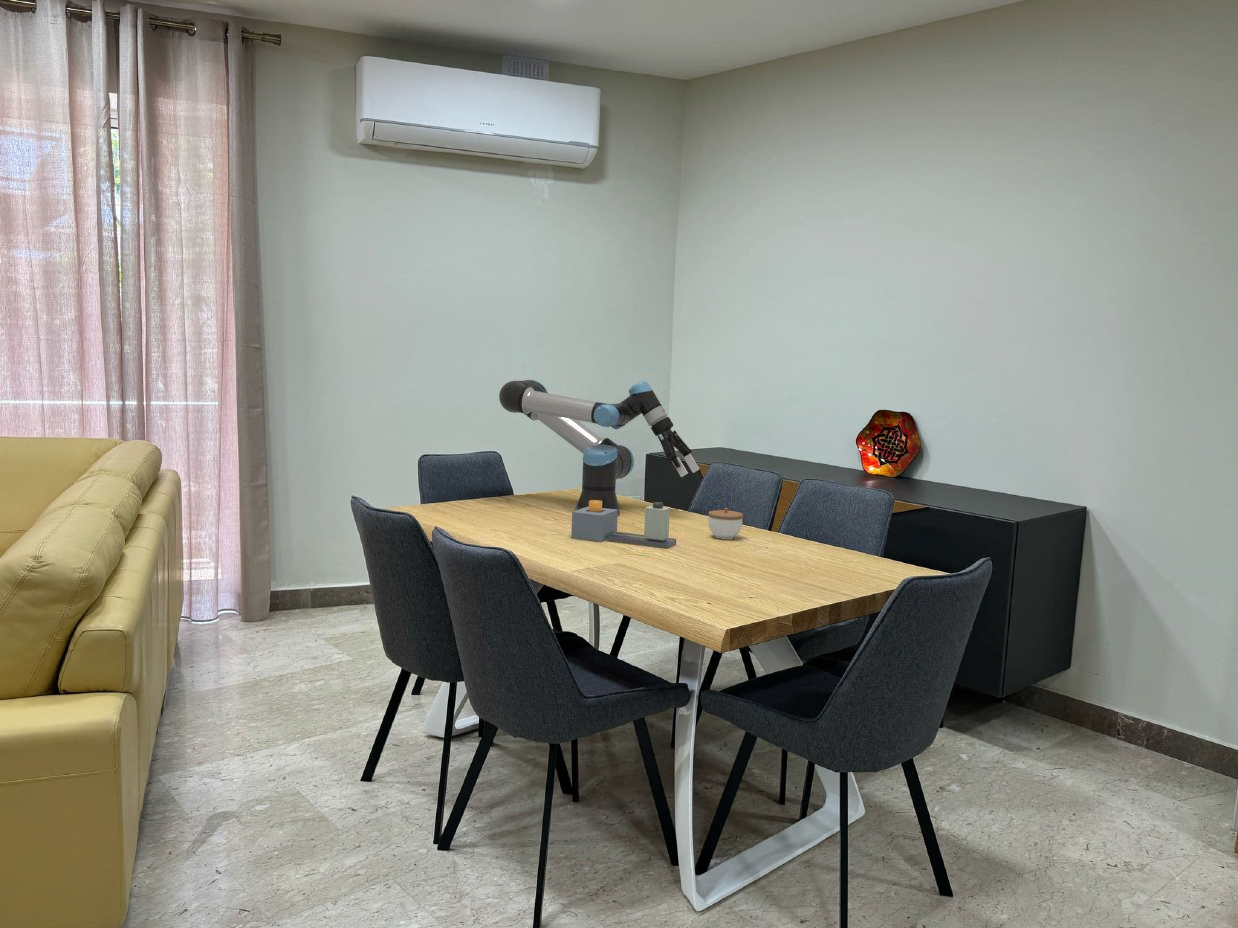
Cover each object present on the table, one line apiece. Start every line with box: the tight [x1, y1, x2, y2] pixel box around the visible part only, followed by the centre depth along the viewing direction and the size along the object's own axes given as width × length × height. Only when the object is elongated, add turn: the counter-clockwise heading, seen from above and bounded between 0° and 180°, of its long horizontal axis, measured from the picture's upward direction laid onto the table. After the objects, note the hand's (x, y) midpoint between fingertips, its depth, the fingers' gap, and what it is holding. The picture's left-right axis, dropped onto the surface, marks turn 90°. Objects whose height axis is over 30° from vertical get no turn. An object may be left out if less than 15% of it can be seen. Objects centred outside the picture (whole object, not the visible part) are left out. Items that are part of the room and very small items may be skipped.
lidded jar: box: [708, 507, 744, 540], centre depth 294 cm, size 11×11×9 cm
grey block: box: [570, 506, 619, 543], centre depth 286 cm, size 10×12×8 cm
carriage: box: [643, 501, 671, 540], centre depth 279 cm, size 6×5×10 cm
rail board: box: [607, 531, 677, 550], centre depth 281 cm, size 19×8×2 cm, turn 68°
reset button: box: [589, 500, 602, 513], centre depth 286 cm, size 4×4×6 cm
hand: (690, 473), depth 327 cm, fingers open, 13 cm apart
